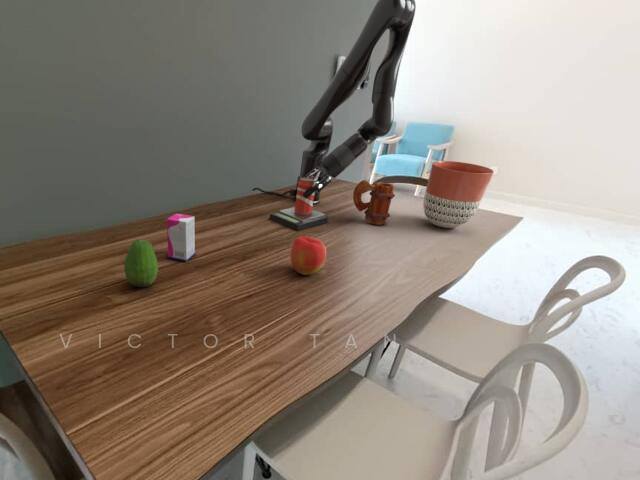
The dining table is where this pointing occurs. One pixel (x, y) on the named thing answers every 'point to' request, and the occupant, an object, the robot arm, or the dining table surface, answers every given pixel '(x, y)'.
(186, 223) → the supplement box
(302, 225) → the scale
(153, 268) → the avocado
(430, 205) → the planter
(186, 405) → the dining table surface
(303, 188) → the beverage can
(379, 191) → the mug
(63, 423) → the dining table surface
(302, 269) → the apple
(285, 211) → the scale pan
